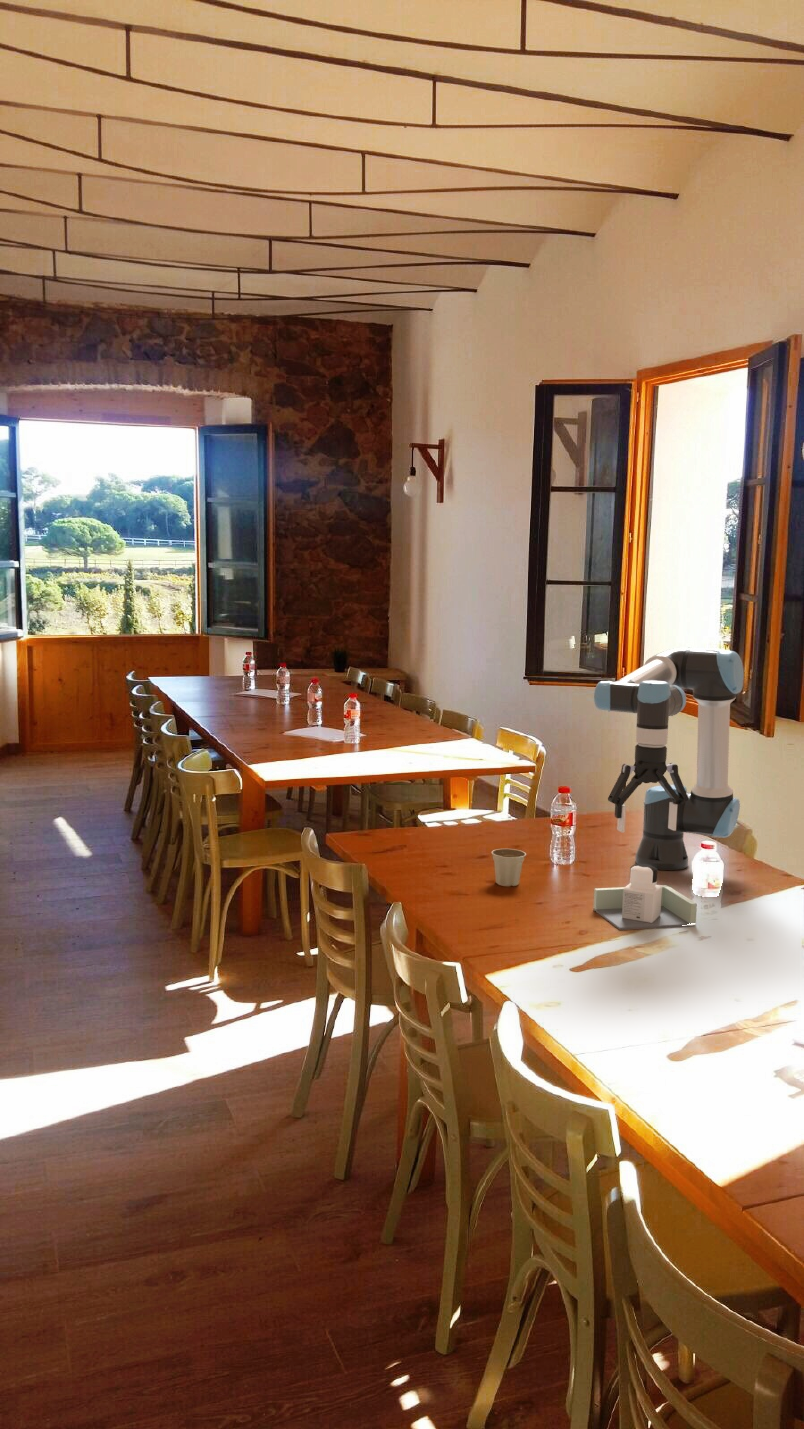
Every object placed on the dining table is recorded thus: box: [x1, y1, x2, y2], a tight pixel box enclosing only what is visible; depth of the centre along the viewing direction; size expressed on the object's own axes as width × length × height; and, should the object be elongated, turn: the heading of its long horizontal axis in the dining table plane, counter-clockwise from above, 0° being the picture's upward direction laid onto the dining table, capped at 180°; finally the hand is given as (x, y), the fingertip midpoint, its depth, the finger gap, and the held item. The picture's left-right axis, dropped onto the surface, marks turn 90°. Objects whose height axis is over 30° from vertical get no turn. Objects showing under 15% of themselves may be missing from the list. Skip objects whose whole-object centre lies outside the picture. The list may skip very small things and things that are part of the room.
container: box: [622, 863, 662, 923], centre depth 282 cm, size 8×8×13 cm
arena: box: [592, 884, 698, 931], centre depth 284 cm, size 20×16×6 cm
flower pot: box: [490, 848, 527, 887], centre depth 311 cm, size 9×9×9 cm
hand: (646, 830), depth 280 cm, fingers open, 13 cm apart
